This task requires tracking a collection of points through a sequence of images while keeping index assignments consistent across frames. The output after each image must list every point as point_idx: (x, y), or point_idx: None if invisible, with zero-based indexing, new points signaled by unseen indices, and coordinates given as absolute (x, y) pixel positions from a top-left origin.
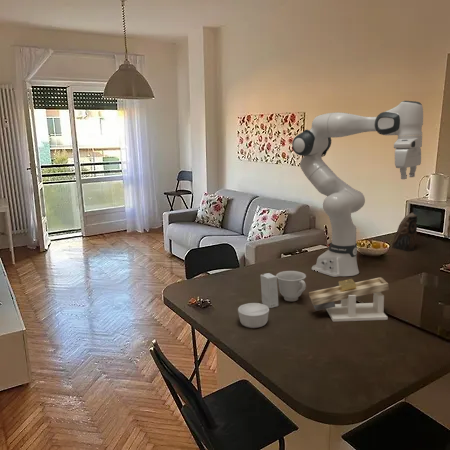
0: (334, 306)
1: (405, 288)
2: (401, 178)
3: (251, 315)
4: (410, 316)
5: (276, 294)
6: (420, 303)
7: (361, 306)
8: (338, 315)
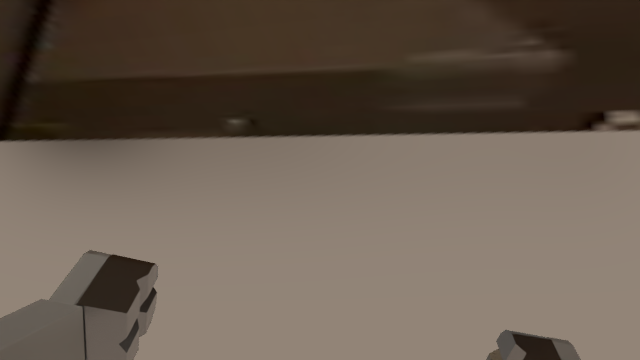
0: None
1: (333, 10)
2: (86, 259)
3: None
4: (82, 53)
5: None
6: (205, 71)
7: None
8: None
